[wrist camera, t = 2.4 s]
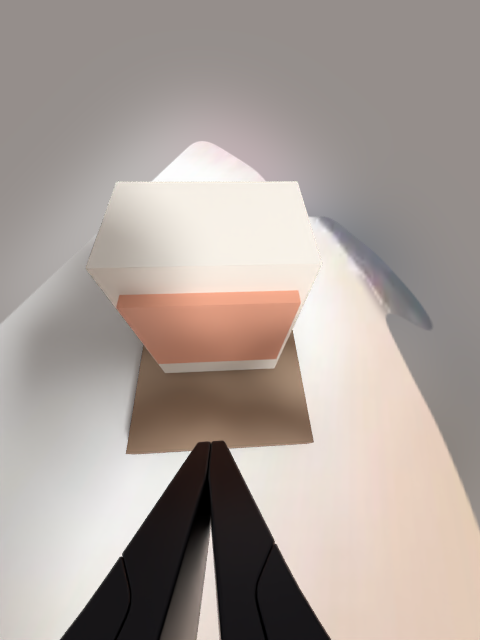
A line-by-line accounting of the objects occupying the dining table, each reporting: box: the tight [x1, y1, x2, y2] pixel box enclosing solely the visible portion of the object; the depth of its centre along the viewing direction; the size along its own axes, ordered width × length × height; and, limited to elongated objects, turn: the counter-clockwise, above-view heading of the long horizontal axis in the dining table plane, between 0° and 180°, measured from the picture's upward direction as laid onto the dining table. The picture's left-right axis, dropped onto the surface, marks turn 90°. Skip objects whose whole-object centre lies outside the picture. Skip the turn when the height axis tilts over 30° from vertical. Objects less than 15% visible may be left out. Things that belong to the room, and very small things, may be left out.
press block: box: [86, 182, 323, 373], centre depth 14 cm, size 6×8×11 cm
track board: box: [126, 330, 314, 454], centre depth 20 cm, size 16×12×2 cm
